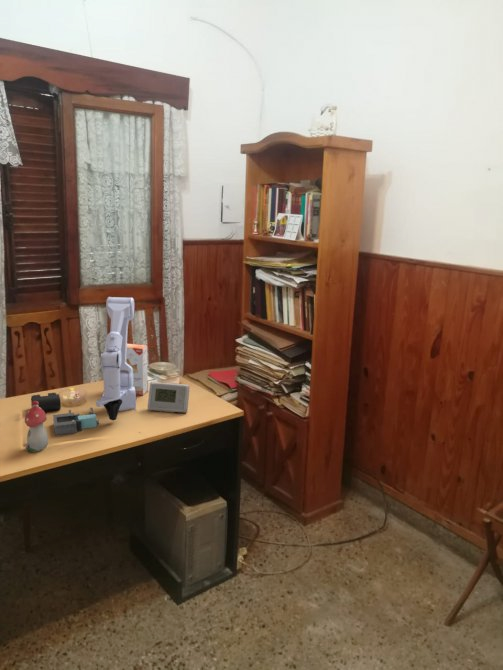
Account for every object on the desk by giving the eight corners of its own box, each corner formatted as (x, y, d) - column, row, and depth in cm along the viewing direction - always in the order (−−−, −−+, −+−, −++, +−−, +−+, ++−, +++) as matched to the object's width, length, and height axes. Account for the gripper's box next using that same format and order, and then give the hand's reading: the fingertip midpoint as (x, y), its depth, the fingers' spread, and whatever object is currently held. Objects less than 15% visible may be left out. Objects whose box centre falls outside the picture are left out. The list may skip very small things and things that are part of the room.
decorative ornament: (33, 440, 175) (30, 398, 172) (52, 441, 175) (50, 399, 172) (21, 453, 166) (18, 409, 163) (41, 454, 166) (39, 410, 163)
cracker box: (111, 393, 221) (110, 345, 216) (117, 388, 227) (116, 341, 222) (143, 396, 219) (142, 348, 214) (148, 391, 225) (147, 344, 220)
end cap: (33, 417, 194) (31, 400, 192) (30, 410, 200) (29, 394, 198) (61, 413, 198) (60, 396, 197) (58, 406, 204) (57, 390, 203)
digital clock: (145, 410, 204) (145, 384, 202) (156, 402, 213) (156, 378, 210) (182, 417, 199) (183, 390, 197) (192, 408, 208) (193, 383, 205)
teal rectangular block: (98, 425, 189) (97, 413, 188) (99, 429, 186) (98, 417, 185) (78, 427, 187) (77, 415, 186) (79, 431, 184) (78, 419, 182)
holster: (92, 412, 200) (92, 406, 199) (95, 420, 193) (94, 413, 193) (68, 415, 196) (67, 409, 195) (69, 423, 190) (69, 416, 189)
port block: (79, 423, 190) (79, 410, 189) (82, 434, 181) (81, 421, 180) (53, 426, 186) (53, 413, 185) (55, 438, 177) (54, 424, 176)
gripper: (116, 376, 194) (117, 410, 197) (88, 387, 181) (90, 423, 184) (131, 379, 191) (132, 414, 194) (104, 391, 178) (105, 428, 181)
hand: (112, 419), depth 189 cm, fingers closed
